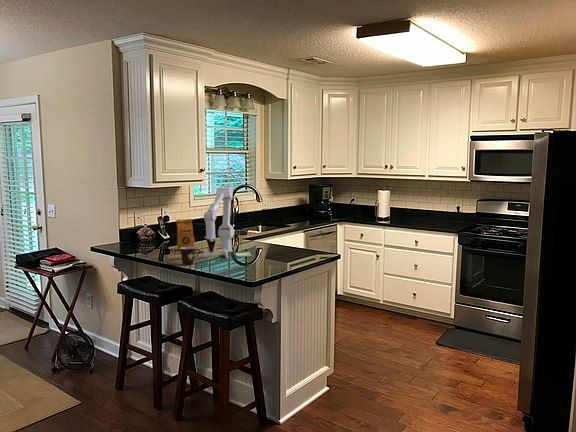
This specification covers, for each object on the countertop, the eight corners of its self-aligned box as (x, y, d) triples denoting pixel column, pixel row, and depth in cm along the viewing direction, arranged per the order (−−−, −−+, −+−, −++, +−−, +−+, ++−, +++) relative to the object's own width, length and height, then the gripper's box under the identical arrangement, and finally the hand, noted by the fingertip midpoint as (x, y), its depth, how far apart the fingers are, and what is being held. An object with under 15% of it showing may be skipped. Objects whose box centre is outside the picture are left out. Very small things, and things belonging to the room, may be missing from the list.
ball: (207, 252, 306) (207, 246, 306) (214, 252, 307) (213, 246, 307) (208, 253, 302) (208, 247, 302) (214, 253, 303) (214, 247, 303)
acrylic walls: (203, 255, 310) (203, 250, 309) (225, 254, 313) (225, 249, 313) (205, 259, 297) (204, 254, 297) (227, 258, 301) (227, 252, 300)
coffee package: (194, 250, 328) (193, 219, 326) (176, 251, 326) (175, 220, 324) (195, 248, 338) (194, 217, 336) (177, 249, 336) (176, 218, 333)
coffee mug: (180, 266, 279) (180, 249, 278) (180, 263, 287) (180, 247, 286) (200, 264, 281) (200, 248, 280) (200, 262, 290) (199, 246, 289)
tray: (235, 254, 313) (235, 253, 313) (249, 253, 316) (249, 252, 315) (237, 256, 304) (237, 255, 304) (251, 256, 307) (251, 254, 307)
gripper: (203, 228, 309) (204, 249, 311) (205, 231, 295) (205, 253, 297) (214, 228, 311) (214, 248, 312) (216, 231, 297) (217, 252, 298)
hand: (211, 250), depth 305 cm, fingers closed on ball, 4 cm apart
